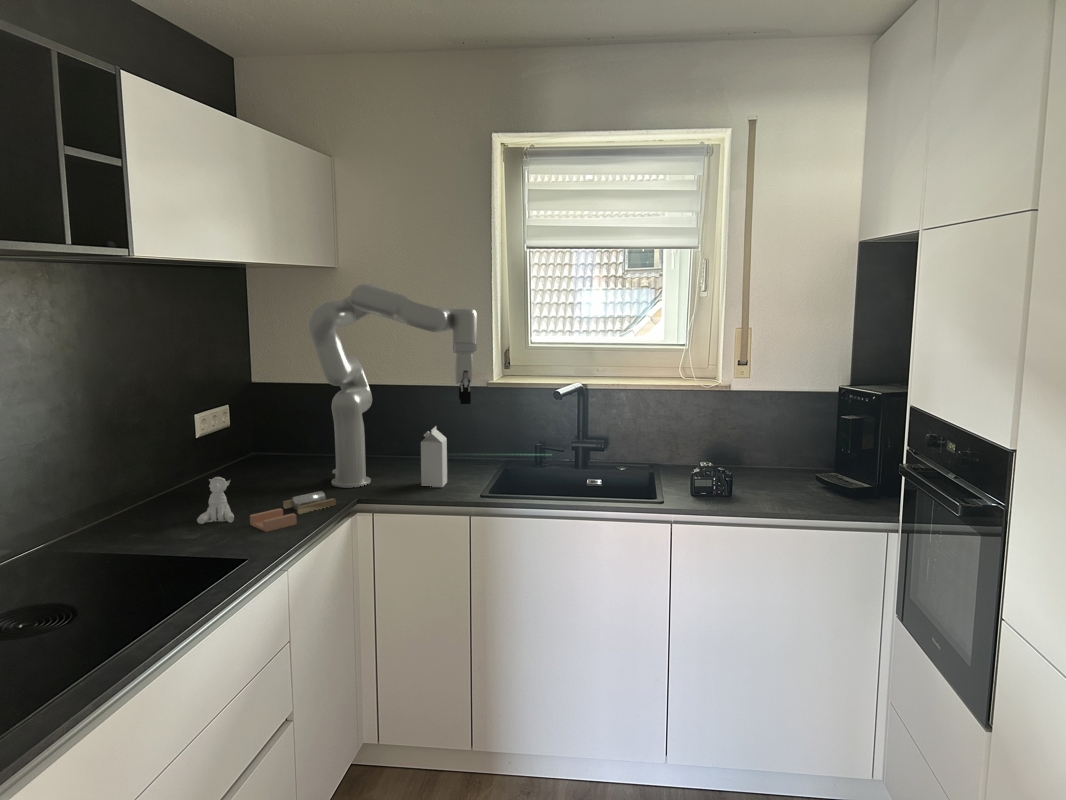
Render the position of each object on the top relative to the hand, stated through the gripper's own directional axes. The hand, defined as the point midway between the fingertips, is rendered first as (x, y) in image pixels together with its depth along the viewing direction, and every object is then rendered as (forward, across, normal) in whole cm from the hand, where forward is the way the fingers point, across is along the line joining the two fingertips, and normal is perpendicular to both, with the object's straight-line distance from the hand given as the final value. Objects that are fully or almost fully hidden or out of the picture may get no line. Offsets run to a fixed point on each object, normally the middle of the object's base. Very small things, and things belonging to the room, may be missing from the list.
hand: (464, 401), depth 245 cm
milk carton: (+29, -5, -10) cm, 31 cm away
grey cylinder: (+27, +16, -47) cm, 56 cm away
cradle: (+29, +33, -54) cm, 69 cm away
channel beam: (+29, +16, -46) cm, 57 cm away
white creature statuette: (+29, +25, -70) cm, 80 cm away
